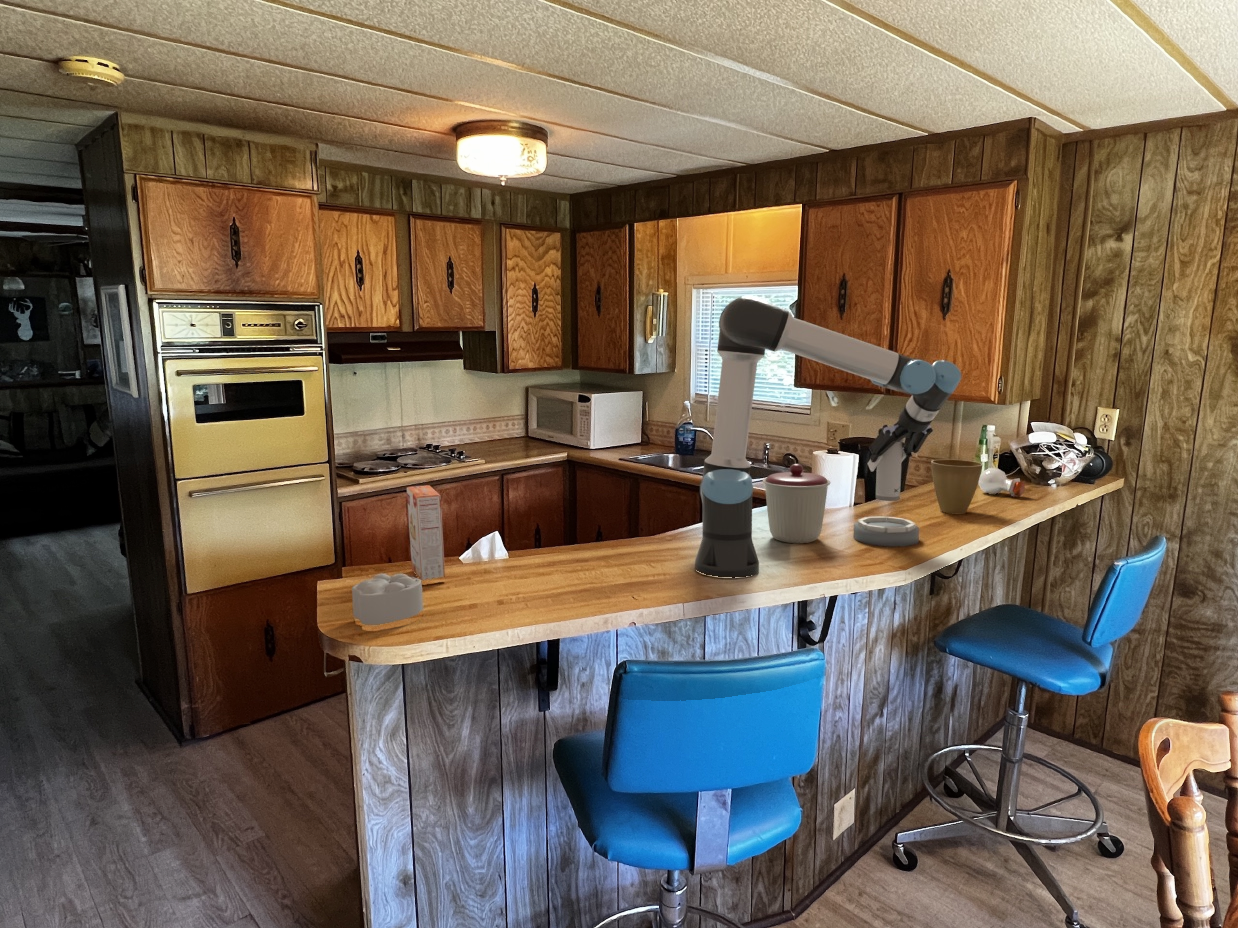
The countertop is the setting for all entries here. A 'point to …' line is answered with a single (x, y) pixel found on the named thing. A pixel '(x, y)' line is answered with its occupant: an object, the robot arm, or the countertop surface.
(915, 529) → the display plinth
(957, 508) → the plant pot
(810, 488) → the canister
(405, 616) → the lumpy-topped squat cylinder
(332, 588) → the countertop surface
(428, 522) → the cracker box
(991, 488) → the potion bottle
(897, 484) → the travel mug
